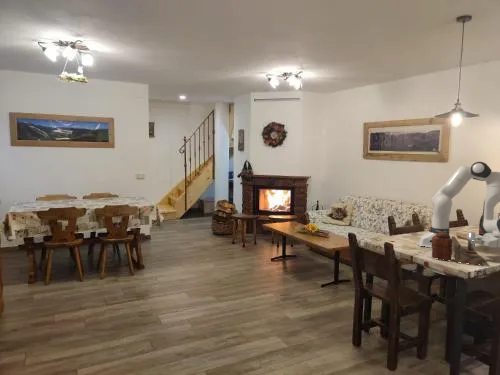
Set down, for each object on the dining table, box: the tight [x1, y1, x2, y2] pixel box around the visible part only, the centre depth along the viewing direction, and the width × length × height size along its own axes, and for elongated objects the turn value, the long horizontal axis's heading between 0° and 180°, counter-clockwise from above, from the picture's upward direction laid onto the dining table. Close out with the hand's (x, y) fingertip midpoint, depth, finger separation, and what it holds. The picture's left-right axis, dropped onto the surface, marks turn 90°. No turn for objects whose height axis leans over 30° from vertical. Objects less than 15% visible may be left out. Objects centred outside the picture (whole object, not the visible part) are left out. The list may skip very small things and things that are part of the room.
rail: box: [451, 235, 484, 266], centre depth 233 cm, size 14×24×12 cm, turn 159°
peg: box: [467, 231, 477, 251], centre depth 233 cm, size 4×4×12 cm
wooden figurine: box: [431, 232, 453, 261], centre depth 232 cm, size 12×6×18 cm, turn 57°
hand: (470, 240), depth 232 cm, fingers closed on peg, 4 cm apart
